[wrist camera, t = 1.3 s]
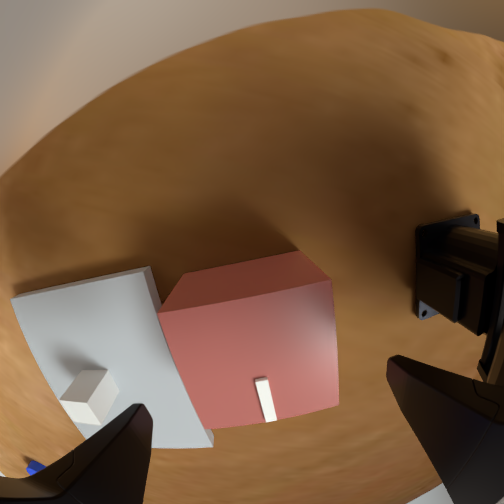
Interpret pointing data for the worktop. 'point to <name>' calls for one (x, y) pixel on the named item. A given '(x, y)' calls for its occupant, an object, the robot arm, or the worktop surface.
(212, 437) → the peg base plate
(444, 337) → the worktop surface
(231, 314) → the pink slotted box
